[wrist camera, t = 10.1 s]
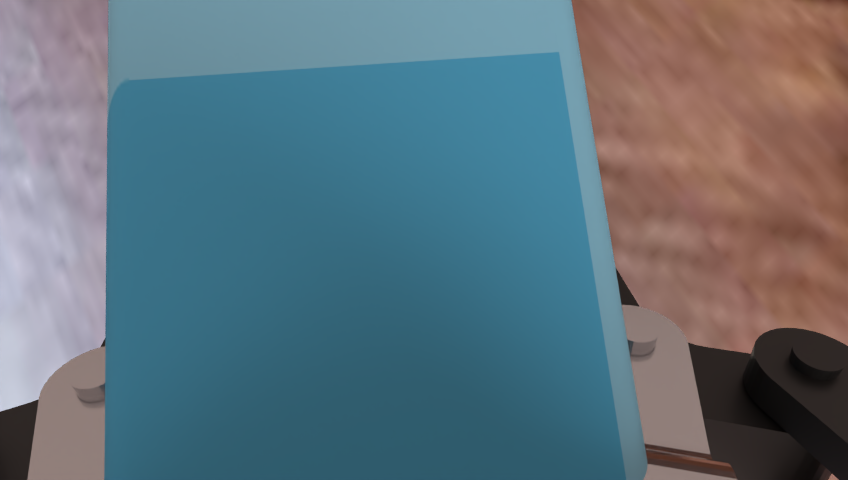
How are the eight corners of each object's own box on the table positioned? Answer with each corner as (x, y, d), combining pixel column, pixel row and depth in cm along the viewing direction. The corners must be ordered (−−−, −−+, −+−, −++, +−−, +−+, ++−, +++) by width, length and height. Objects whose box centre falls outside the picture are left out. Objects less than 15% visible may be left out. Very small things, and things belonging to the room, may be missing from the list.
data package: (291, 108, 18) (101, -367, 6) (438, 97, 18) (517, -373, 7) (315, 531, 16) (83, 1028, 4) (484, 512, 16) (734, 916, 4)
